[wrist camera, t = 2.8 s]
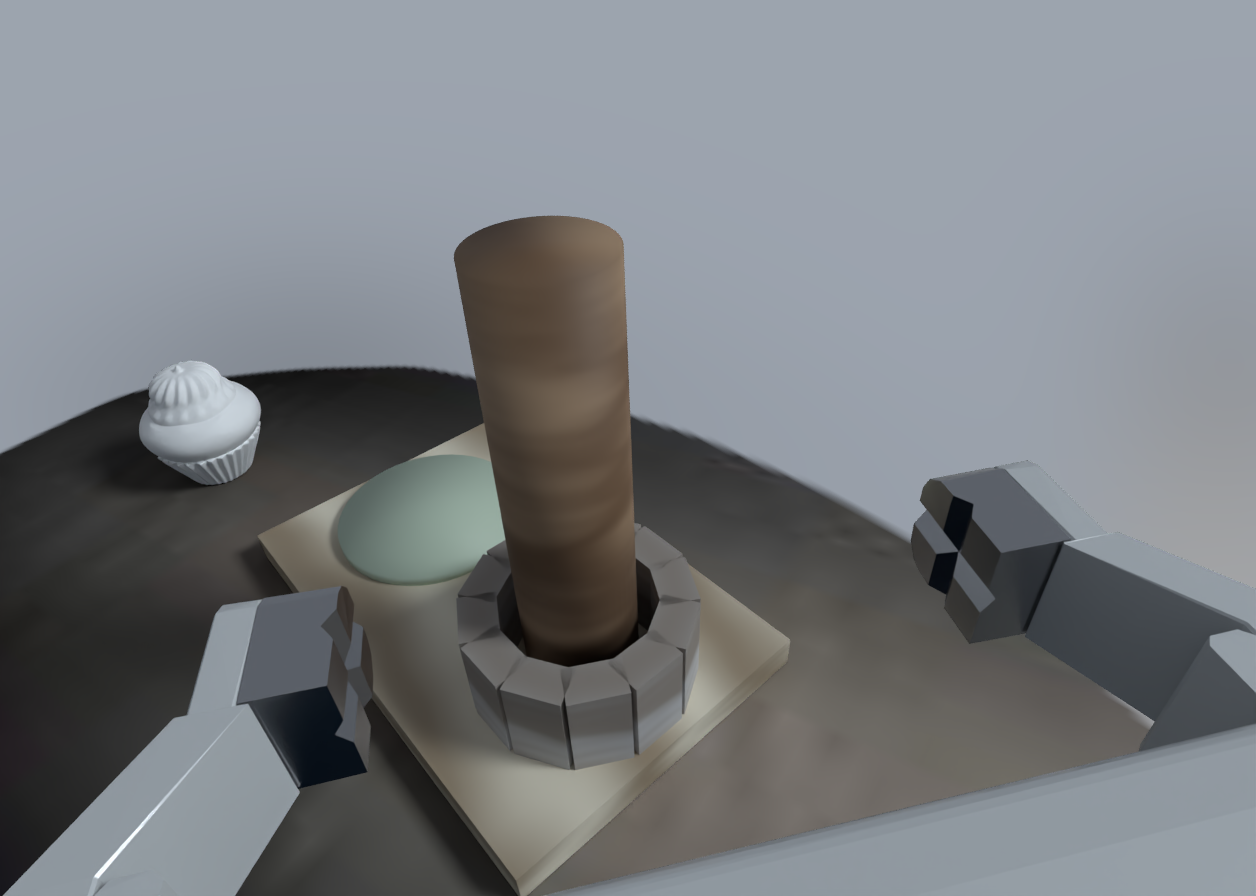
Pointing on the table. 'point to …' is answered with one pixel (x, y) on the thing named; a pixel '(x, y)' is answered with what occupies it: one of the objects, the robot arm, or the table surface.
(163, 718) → the table surface
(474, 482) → the sage pad
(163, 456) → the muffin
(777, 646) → the birch board
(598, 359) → the walnut peg
